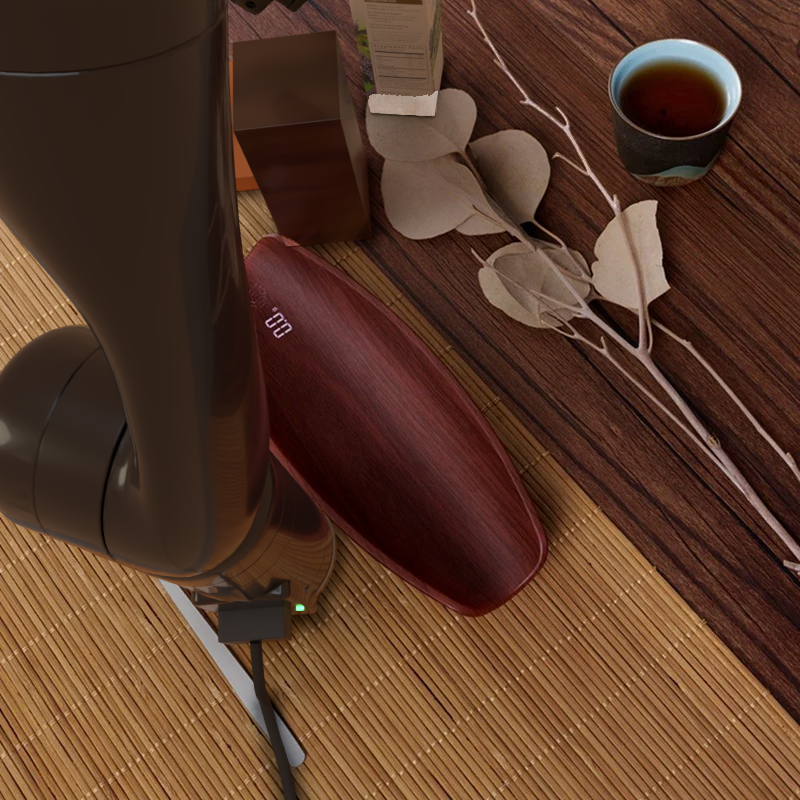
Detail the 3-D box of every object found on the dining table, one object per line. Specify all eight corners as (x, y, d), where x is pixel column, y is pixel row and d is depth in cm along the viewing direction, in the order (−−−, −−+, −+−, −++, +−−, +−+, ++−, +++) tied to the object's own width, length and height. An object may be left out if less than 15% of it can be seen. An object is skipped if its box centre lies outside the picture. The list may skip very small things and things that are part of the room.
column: (371, 239, 74) (340, 118, 59) (285, 247, 75) (232, 131, 59) (367, 163, 76) (335, 29, 61) (283, 172, 77) (232, 42, 62)
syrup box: (379, 59, 79) (355, -77, 66) (447, 62, 79) (437, -74, 65) (369, 115, 78) (342, -12, 64) (438, 119, 77) (426, -8, 63)
